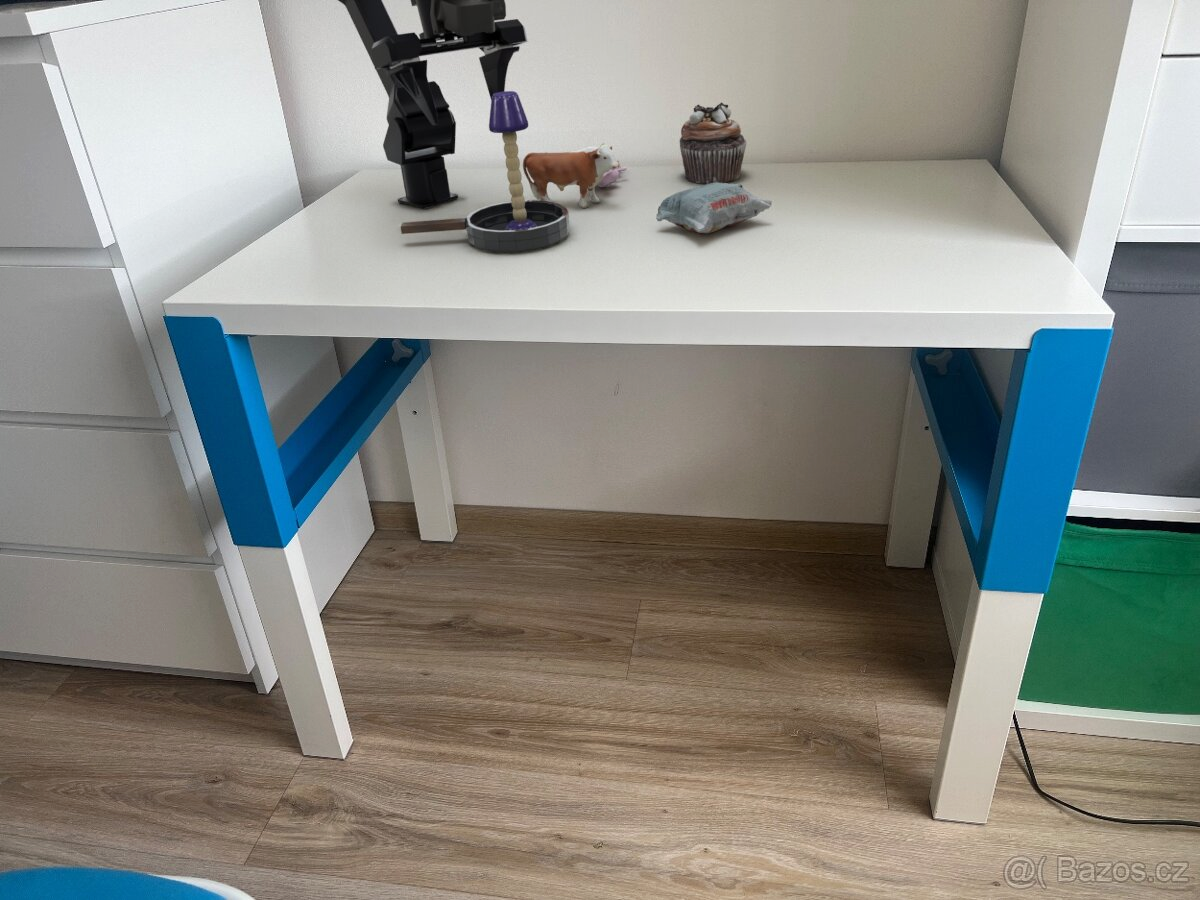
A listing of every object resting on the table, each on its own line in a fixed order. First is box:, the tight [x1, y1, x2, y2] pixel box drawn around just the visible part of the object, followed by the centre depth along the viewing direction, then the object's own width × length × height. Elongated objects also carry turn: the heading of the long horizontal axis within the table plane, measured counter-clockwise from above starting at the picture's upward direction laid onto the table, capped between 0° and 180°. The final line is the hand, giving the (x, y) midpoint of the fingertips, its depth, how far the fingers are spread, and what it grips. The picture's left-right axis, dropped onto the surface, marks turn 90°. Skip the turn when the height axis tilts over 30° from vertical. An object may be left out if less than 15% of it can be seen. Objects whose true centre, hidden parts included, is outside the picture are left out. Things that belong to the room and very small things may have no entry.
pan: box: [464, 199, 571, 254], centre depth 109 cm, size 13×13×3 cm
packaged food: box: [655, 182, 773, 234], centre depth 108 cm, size 9×12×5 cm
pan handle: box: [400, 217, 466, 235], centre depth 109 cm, size 8×2×1 cm, turn 93°
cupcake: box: [679, 102, 748, 185], centre depth 126 cm, size 10×10×10 cm
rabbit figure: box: [597, 142, 627, 189], centre depth 127 cm, size 6×6×15 cm
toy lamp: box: [488, 90, 537, 230], centre depth 105 cm, size 5×5×17 cm
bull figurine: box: [522, 144, 620, 209], centre depth 118 cm, size 4×13×8 cm, turn 76°
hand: (468, 118), depth 109 cm, fingers open, 9 cm apart
